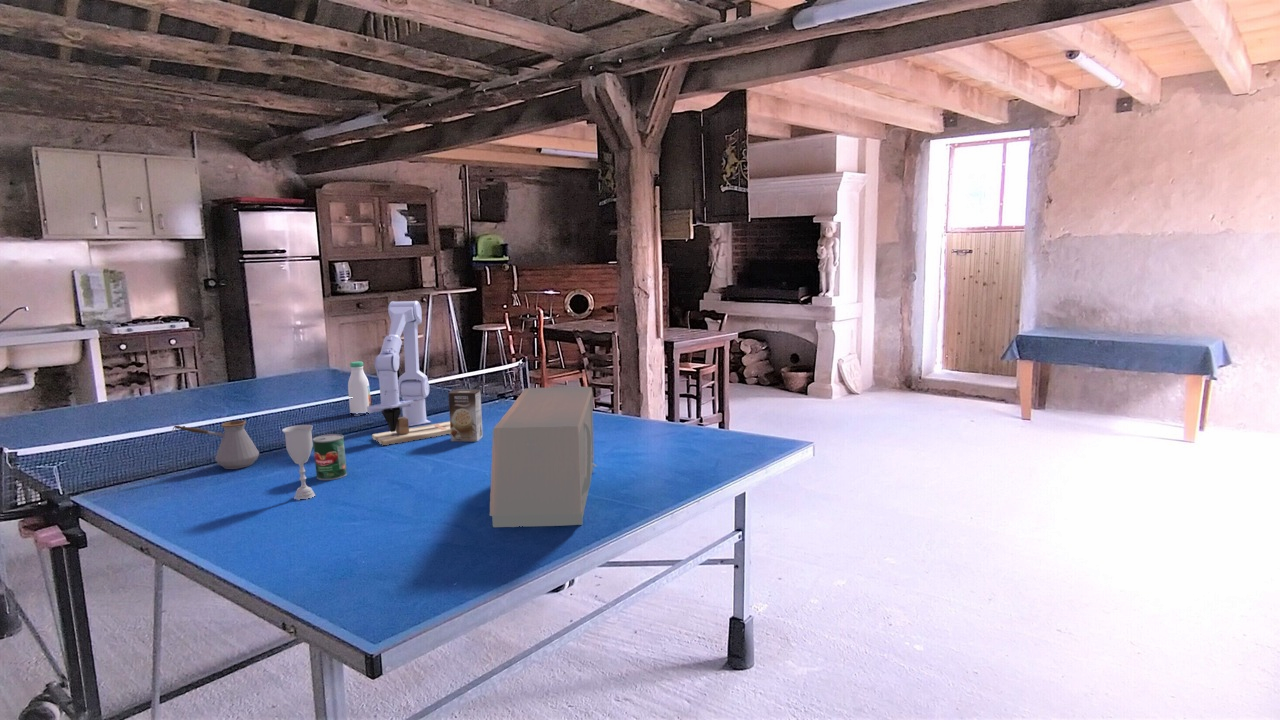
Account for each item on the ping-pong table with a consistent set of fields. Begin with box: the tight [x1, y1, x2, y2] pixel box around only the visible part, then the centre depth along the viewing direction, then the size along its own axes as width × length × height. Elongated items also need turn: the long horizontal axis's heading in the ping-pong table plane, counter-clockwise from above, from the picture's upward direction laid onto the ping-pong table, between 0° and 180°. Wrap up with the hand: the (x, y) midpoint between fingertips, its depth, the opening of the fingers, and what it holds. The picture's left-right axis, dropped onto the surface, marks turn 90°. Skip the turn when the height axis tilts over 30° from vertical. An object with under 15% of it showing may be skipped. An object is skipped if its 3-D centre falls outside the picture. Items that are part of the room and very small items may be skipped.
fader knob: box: [396, 416, 410, 435], centre depth 246 cm, size 4×3×5 cm
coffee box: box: [448, 388, 484, 442], centre depth 242 cm, size 9×6×16 cm
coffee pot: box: [171, 420, 260, 470], centre depth 216 cm, size 21×12×15 cm, turn 135°
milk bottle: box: [347, 361, 372, 414], centre depth 283 cm, size 8×8×20 cm
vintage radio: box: [489, 386, 598, 528], centre depth 184 cm, size 45×22×24 cm, turn 178°
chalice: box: [281, 424, 316, 501], centre depth 189 cm, size 7×7×18 cm
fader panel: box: [371, 420, 451, 446], centre depth 250 cm, size 12×28×2 cm, turn 126°
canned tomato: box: [312, 433, 348, 481], centre depth 206 cm, size 8×8×11 cm
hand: (392, 431), depth 244 cm, fingers closed
